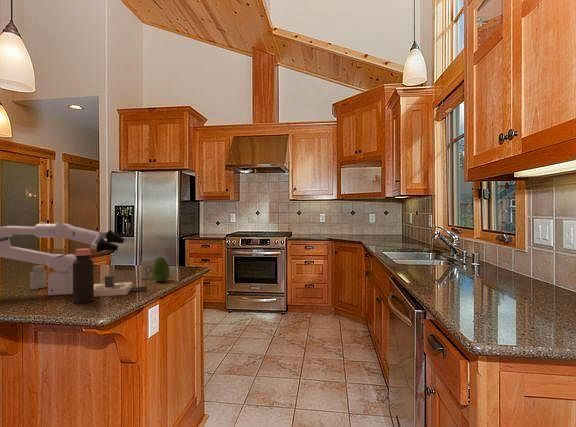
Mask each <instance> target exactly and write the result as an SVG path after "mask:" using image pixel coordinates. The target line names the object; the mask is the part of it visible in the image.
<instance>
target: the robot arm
mask: <svg viewBox="0 0 576 427" xmlns="http://www.w3.org/2000/svg"><path fill="white" fill-rule="evenodd" d="M14 235H33V236H35V237H36V238H51V239H53V238H57V239H60V240H61V239H65V238H66V239H68V240H72V241H75V242H79V243H84V244H88V245H90V249H92V250H96V252H98V253H100V252H101V253H102V252H107V251H109V252H115V251H116V252H117V251H118V248H119V245H117V244H124V242H125V238H123V237H122V236H120V235H118V234H116V233H115V232H114V231H112V230H111V229H108V231H107V230H105V231H103V230H99V231H95V230H92V229H91V230H90V229H87V228H83V227H79V226H78V227H76V226H74V225H72V224H70V223H66V222H64V223H59V222H54V223H46V222H45V221H41V222H40V223H37V224H36V225H34V226H29V225H28V226H27V225H4V226H0V258H2V259H3V258H5V259H9V260H14V261H20V262H21V261H22V262H25V263H32V264H36V265H40V264H41V266H47V268H49V269H53V270H55V271H52V272H50V273H49V275H48V282H47V285H48V286H47V292H48V293H47V296H58V295H59V296H61V295H73V262H74V261H75V260H76V259H77V257H76V255H75V253H69V254H60V253H50V252H44V251H40V250H34V249H30V248H29V249H28V248H24V247H23V248H22V247H18V246H13V245H12V244H11V241H10V240H11V239H10V237H13V236H14ZM105 239H106V240H105ZM114 243H117V244H114Z"/></svg>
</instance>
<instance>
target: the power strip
mask: <svg viewBox="0 0 576 427" xmlns="http://www.w3.org/2000/svg"><path fill="white" fill-rule="evenodd" d="M147 289H148V285H144V286H133V282H132V281H125V282H115V285H114V286H108V287H105V283H94V298H95V297H109V296H111V297H112V296H124V295H128V294H129V292H130V293H137V292H139V291H141V292H146V291H147Z"/></svg>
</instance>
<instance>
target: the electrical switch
mask: <svg viewBox="0 0 576 427" xmlns="http://www.w3.org/2000/svg"><path fill="white" fill-rule="evenodd" d="M155 260H156V259H146V260H145V259H144V260H141V261H140V269H141V270H140V274H141V276H140V279H141V280H150V279H154V278H153V276H152V268H153V265H154V262H155Z"/></svg>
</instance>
